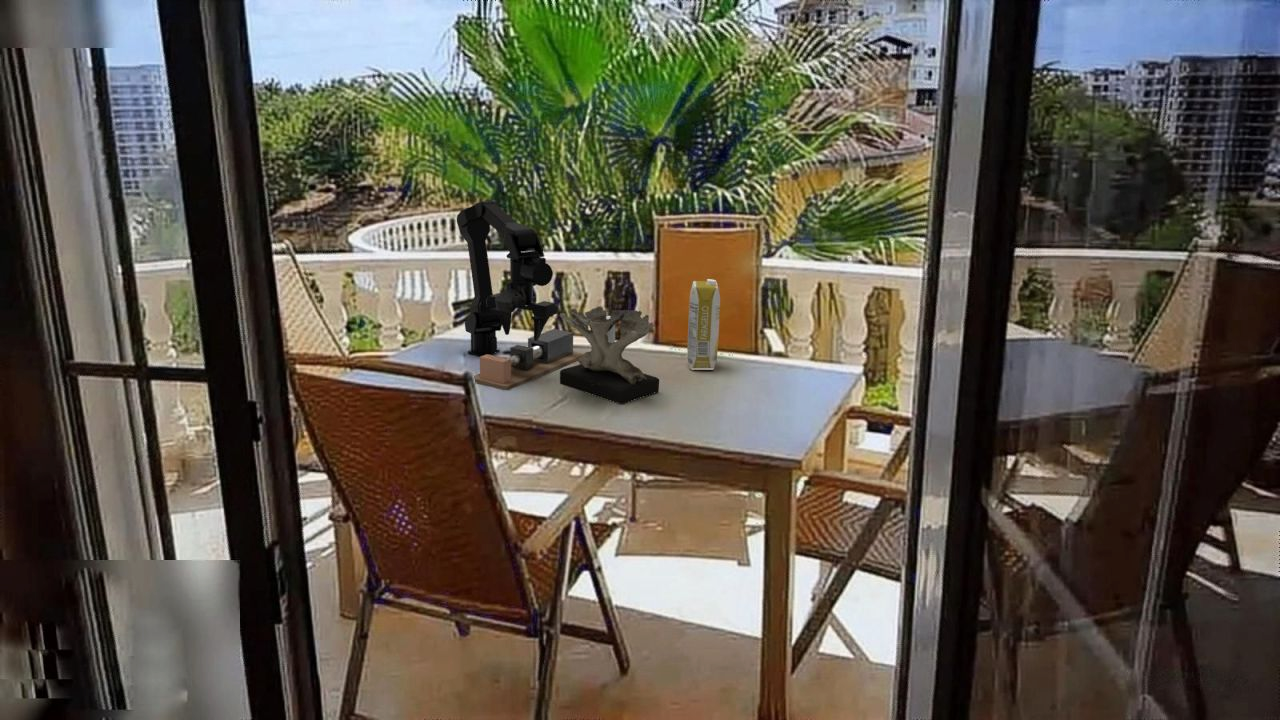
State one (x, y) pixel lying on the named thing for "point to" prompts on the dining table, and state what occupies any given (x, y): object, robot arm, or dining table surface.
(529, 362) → the steel tube
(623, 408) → the dining table surface
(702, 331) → the juice carton
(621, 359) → the coral
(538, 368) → the walnut board
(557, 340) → the sleeve
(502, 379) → the reddish brown block
